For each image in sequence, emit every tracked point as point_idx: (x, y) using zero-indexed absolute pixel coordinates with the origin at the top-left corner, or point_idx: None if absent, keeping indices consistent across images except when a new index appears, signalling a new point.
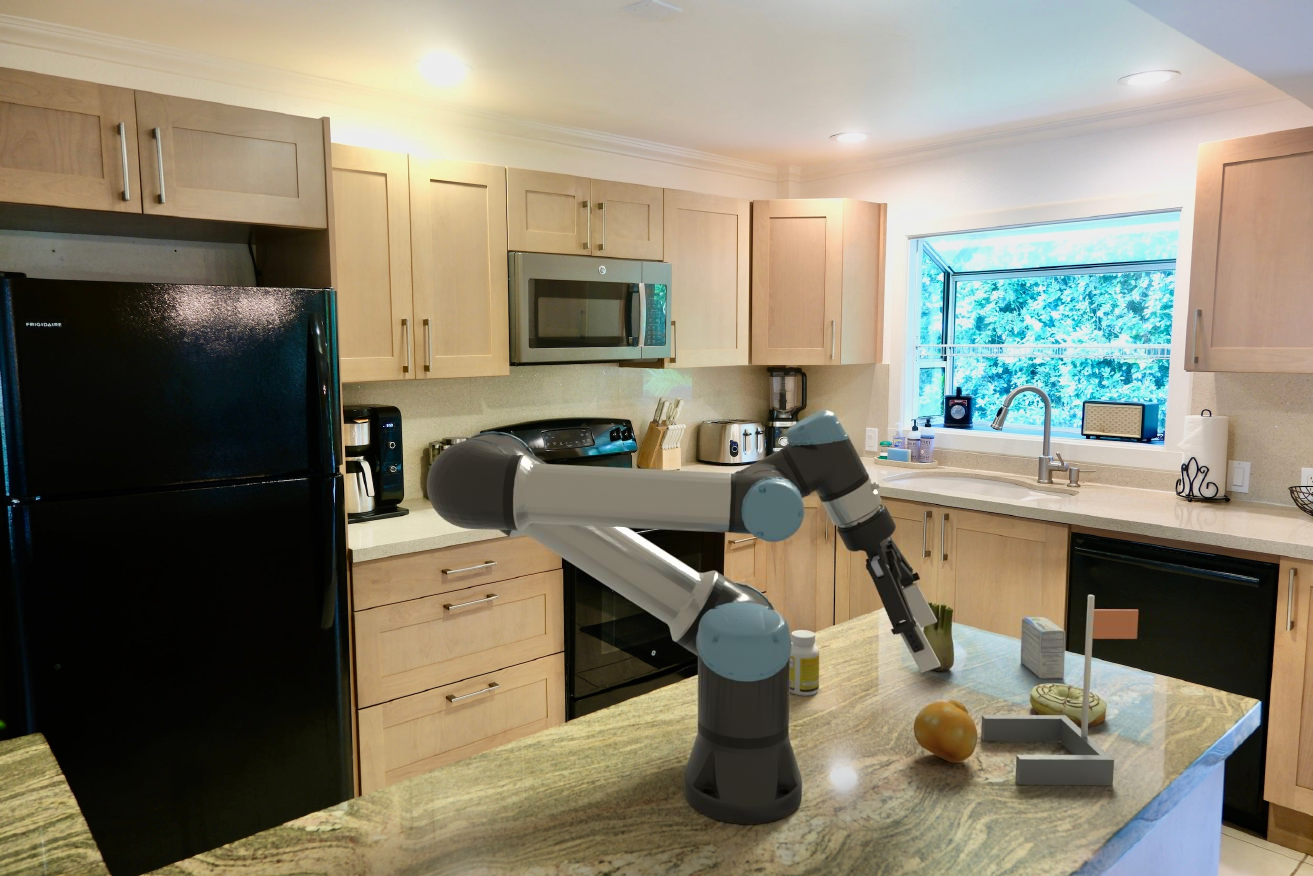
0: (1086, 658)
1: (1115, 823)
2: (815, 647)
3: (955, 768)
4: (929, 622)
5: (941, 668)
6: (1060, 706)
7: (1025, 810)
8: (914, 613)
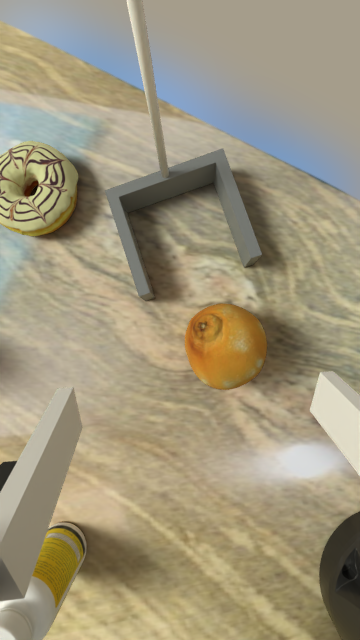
0: (150, 60)
1: (302, 178)
2: None
3: None
4: (74, 407)
5: None
6: (65, 196)
7: (309, 261)
8: (66, 465)
